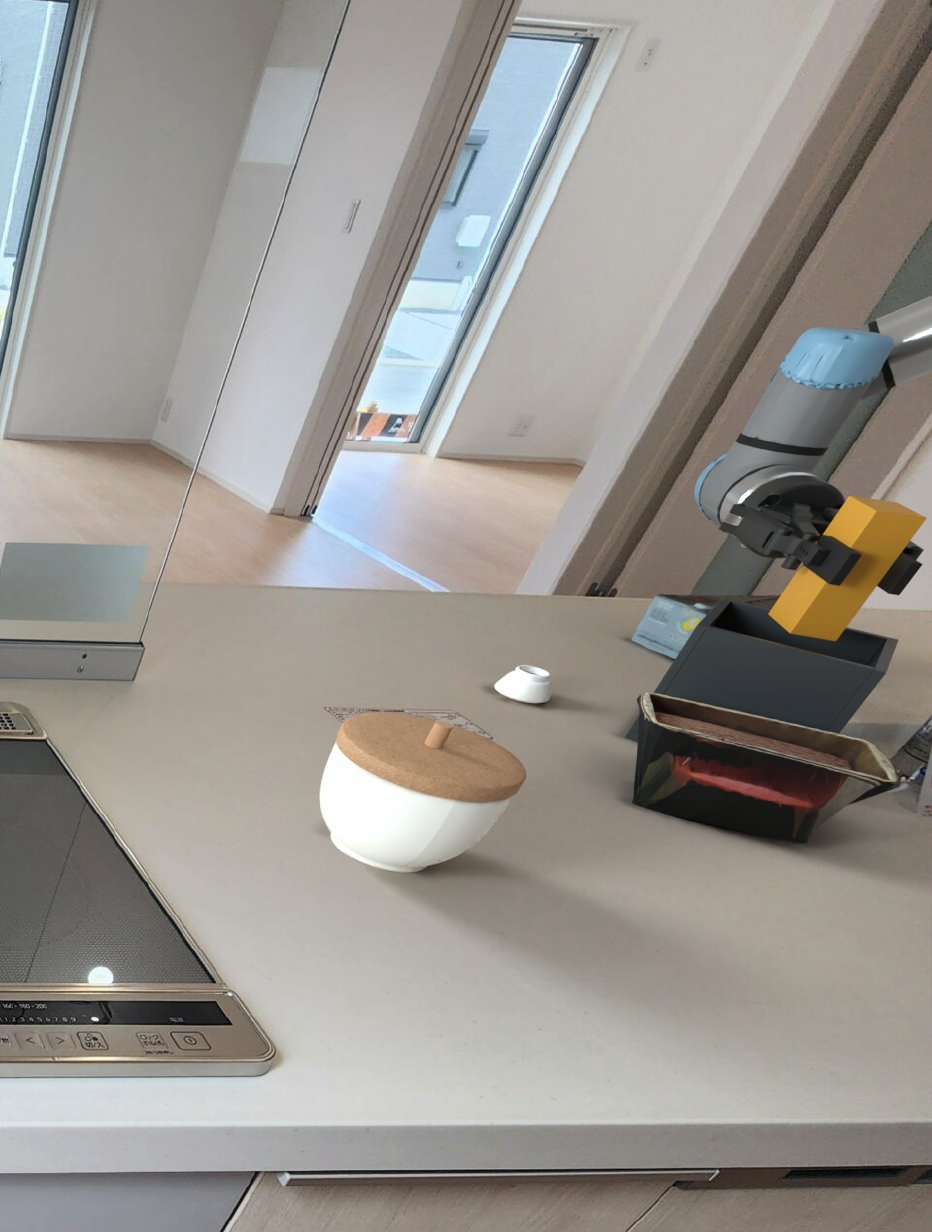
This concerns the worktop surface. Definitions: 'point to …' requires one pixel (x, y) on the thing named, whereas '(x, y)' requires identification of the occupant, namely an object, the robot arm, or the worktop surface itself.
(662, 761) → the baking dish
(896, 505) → the block
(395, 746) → the lidded bowl
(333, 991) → the worktop surface
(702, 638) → the bin
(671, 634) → the beverage carton
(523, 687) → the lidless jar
